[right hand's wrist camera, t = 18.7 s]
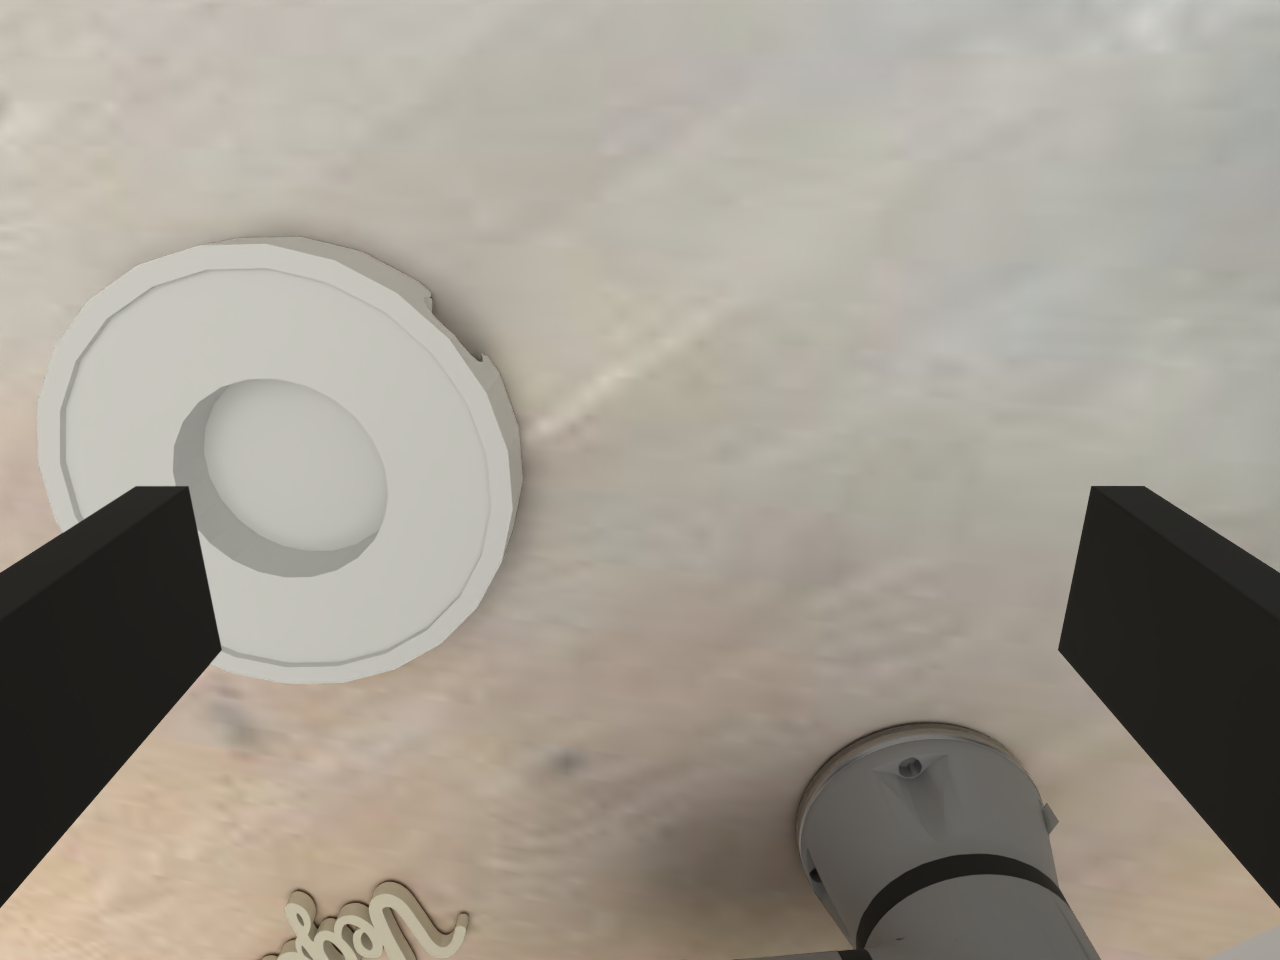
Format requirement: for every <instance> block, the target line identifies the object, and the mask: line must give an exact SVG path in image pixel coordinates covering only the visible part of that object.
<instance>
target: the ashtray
mask: <svg viewBox="0 0 1280 960" xmlns="http://www.w3.org/2000/svg"><path fill="white" fill-rule="evenodd" d="M481 354H482V353H481ZM482 356H483V358H482V362H479V361H477V360H476V359H475V358H474V357H473V356H472V355H470V353H469V352H468V351H467V350H466V349H465V348H464V347H463V345H462V344H461V343H460V342H459V341H458V339H457V338H456V336H455V335H454V334H453V333H452V332H450V331H449V330H448V329H447V328H446V327H445V326H444V325H443V324H442V323H441V322H440V321H439V320H438V319H436V317H435V316H434V315H433V314H432V297H431V292H430V291H429V290H428V289H427V288H425V287H424V286H423V285H422V284H421V283H420V282H419V281H417V280H415V279H413V278H411V277H409V276H407V275H406V274H404V273H402V272H400V271H398V270H396V269H394V268H392V267H390V266H389V265H387V264H385V263H383V262H381V261H379V260H377V259H375V258H373V257H372V256H370V255H368V254H366V253H364V252H362V251H358V250H354V249H350V248H346V247H342V246H338V245H333V244H329V243H325V242H321V241H317V240H313V239H309V238H305V237H301V236H297V237H256V238H236V239H230V240H225V241H220V242H214V243H209V244H203V245H198V246H195V247H192V248H189V249H186V250H183V251H180V252H176V253H173V254H170V255H167V256H164V257H161V258H158V259H155V260H151V261H148V262H145V263H142V264H139V265H137V266H135V267H134V268H133V269H131V270H130V271H128V272H127V273H126V274H124V275H123V276H121V277H120V278H119V279H117V280H116V281H114V282H113V283H112V284H110V285H109V286H107V287H106V288H105V289H103V290H102V291H100V292H99V293H98V294H96V295H95V296H93V297H92V298H91V299H89V300H88V301H87V302H86V304H85V305H84V307H83V308H82V309H81V311H80V312H79V314H78V315H77V316H76V318H75V319H74V321H73V322H72V323H71V325H70V326H69V328H68V329H67V330H66V332H65V333H64V335H63V336H62V337H61V339H60V340H59V342H58V343H57V344H56V346H55V347H54V349H53V353H52V356H51V359H50V363H49V366H48V369H47V373H46V376H45V379H44V382H43V386H42V389H41V392H40V396H39V399H38V402H37V437H38V464H39V468H40V471H41V474H42V478H43V481H44V485H45V488H46V491H47V495H48V498H49V502H50V505H51V509H52V512H53V515H54V519H55V520H56V522H57V524H58V526H59V527H60V529H61V531H62V532H65V531H67V530H68V529H70V528H71V527H73V526H74V525H76V524H77V523H79V522H81V521H82V520H84V519H85V518H87V517H88V516H90V515H92V514H93V513H95V512H96V511H98V510H99V509H101V508H102V507H104V506H106V505H107V504H109V503H110V502H112V501H113V500H115V499H117V498H118V497H120V496H121V495H123V494H124V493H126V492H127V491H129V490H131V489H132V488H134V487H135V486H189V491H190V496H191V501H192V506H193V510H194V515H195V520H196V525H197V530H198V535H199V540H200V545H201V550H202V555H203V560H204V564H205V569H206V574H207V579H208V584H209V589H210V594H211V599H212V604H213V609H214V614H215V619H216V623H217V628H218V633H219V638H220V643H221V648H222V650H221V652H220V653H219V654H218V655H217V656H216V657H215V659H214V660H213V661H212V662H211V663H210V664H211V665H214V666H216V667H218V668H221V669H223V670H225V671H228V672H230V673H234V674H239V675H244V676H249V677H254V678H259V679H264V680H269V681H274V682H279V683H284V684H315V683H345V682H348V681H352V680H356V679H360V678H364V677H368V676H372V675H376V674H379V673H383V672H387V671H391V670H395V669H397V668H398V667H400V666H402V665H404V664H406V663H407V662H409V661H411V660H413V659H415V658H416V657H418V656H420V655H422V654H424V653H425V652H427V651H429V650H431V649H433V648H434V647H436V646H438V645H440V644H441V643H442V642H443V641H444V640H445V639H446V638H447V637H448V636H449V635H450V634H451V633H452V632H453V631H454V630H455V629H456V628H457V627H458V626H459V625H460V624H461V623H462V622H463V621H464V620H465V619H466V618H467V617H468V616H469V615H470V614H471V613H472V612H473V611H474V610H475V609H476V608H477V607H478V605H479V603H480V601H481V599H482V598H483V596H484V594H485V592H486V590H487V588H488V587H489V585H490V583H491V581H492V579H493V577H494V575H495V574H496V572H497V570H498V568H499V566H500V564H501V563H502V560H503V557H504V554H505V551H506V548H507V546H508V543H509V540H510V537H511V534H512V531H513V527H514V522H515V518H516V513H517V508H518V503H519V498H520V493H521V489H522V484H523V472H522V459H521V446H520V433H519V426H518V423H517V420H516V417H515V414H514V412H513V409H512V406H511V403H510V400H509V398H508V395H507V392H506V389H505V387H504V384H503V381H502V378H501V375H500V373H499V372H498V370H497V369H496V367H495V366H494V364H493V363H492V361H491V360H490V358H489V357H488V356H486V355H483V354H482Z"/></svg>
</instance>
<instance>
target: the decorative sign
mask: <svg viewBox="0 0 1280 960" xmlns="http://www.w3.org/2000/svg"><path fill="white" fill-rule="evenodd" d="M390 908H393V909H394V910H395V911H396V912H397V913H398V914H399V915H400V916H401V917H402V919H403V920H404V921H405V923H406V924H407V926H408V927H409V929H410V930H411V932H412V933H413V935H414V936H415V937H416V939H417V940H418V941H419V943H420V944H421V946H422V947H423V948H424V949H425V950H426V952H428V953H429V954H430V955H432V956H434V957H436V958H442V959H443V958H448V957H450V956H451V955H453V954H454V953H455V952H456V951H457V950H458V949H459V947H460V946H461V944H462V942H463V940H464V937H465V934H466V929H467V925H468V920H469V917H468V915H466V914H460V915H459V916H458V920H457V924H456V927H455V929H454V930H453V932H452V933H450V934H448V935H443V934H441V933H440V932H439V931H437V929H436V928H435V927H434V926H433V924H432V923H431V921H430V920H429V918H428V917H427V915H426V914H425V912H424V911H423V909H422V908H421V906H420V905H419V904H418V902H417V901H416V899H415V898H414V896H413V895H412V894H411V893H410V892H409V891H408V890H407V889H406V888H405V887H403V886H402V885H400V884H397V883H394V882H385V883H382V884H380V885H379V886H377V888H376V889H375V891H374V893H373V896H372V899H371V901H370V904H369V908H368V907H367V906H365V905H363V904H360V903H351V904H347V905H345V906H344V907H343V908H342V909H341V910H340V913H339V915H338V918H337V920H336V919H333V918H328V919H325V920H323V921H322V922H321V924H320V926H319V928H318V929H317V928H316V927H315V925H314V923H313V921H314V919H315V916H316V907H315V904H314V902H313V900H312V899H311V898H310V897H309V896H308V895H307V894H305V893H303V892H300V891H296V892H293V893H292V895H291V897H290V899H289V901H288V903H287V905H286V907H285V915H286V918H287V920H288V921H289V923H290V925H291V927H292V929H293V930H294V932H295V934H296V935H297V938H296V940H291V941H288V942H287V943H285V944H284V946H283V948H282V950H281V952H280V954H279V957H277V956H274V955H269V956H266V957H264V958H262V959H261V960H361V959H362V956H363V957H366V958H377V957H379V956H380V955H381V954H382V951H383V948H385V951H386V953H387V955H388V957H389V959H390V960H416V958H415V955H414V953H413V952H412V950H411V948H410V946H409V945H408V943H407V941H406V940H405V938H404V936H403V934H402V933H401V931H400V929H399V927H398V925H397V923H396V921H395V919H394V916H393V914H392V912H391V910H390ZM346 924H352V925H355V926H357V927H356V929H355V932H354V933H353V932H352V931H351V930H350V929H349V928H348V927H347V925H346ZM331 942H332V943H333V944H335V945H336V946H337V947H338V948H339V949H340V951H341V952H342V953H343V955H342V954H340V953H339V952H338V951H337V950H336V949H335V948H334V946H333V945H332V943H331Z"/></svg>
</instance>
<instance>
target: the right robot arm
mask: <svg viewBox="0 0 1280 960" xmlns="http://www.w3.org/2000/svg"><path fill="white" fill-rule="evenodd" d="M221 650H222V648H221V643H220V638H219V633H218V628H217V623H216V619H215V614H214V609H213V604H212V599H211V594H210V589H209V584H208V579H207V574H206V569H205V564H204V560H203V555H202V550H201V545H200V540H199V535H198V530H197V525H196V520H195V515H194V510H193V506H192V501H191V496H190V491H189V486H135V487H134V488H132V489H131V490H129V491H127V492H126V493H124V494H123V495H121V496H120V497H118V498H117V499H115V500H113V501H112V502H110V503H109V504H107V505H106V506H104V507H102V508H101V509H99V510H98V511H96V512H95V513H93V514H92V515H90V516H88V517H87V518H85V519H84V520H82V521H81V522H79V523H77V524H76V525H74V526H73V527H71V528H70V529H68V530H67V531H65V532H63V533H62V534H60V535H59V536H57V537H56V538H54V539H53V540H51V541H49V542H48V543H46V544H45V545H43V546H42V547H40V548H38V549H37V550H35V551H34V552H32V553H31V554H29V555H28V556H26V557H24V558H23V559H21V560H20V561H18V562H17V563H15V564H13V565H12V566H10V567H9V568H7V569H6V570H4V571H3V572H1V573H0V908H1V907H2V905H3V904H4V903H5V902H6V901H7V900H8V898H9V897H10V896H11V895H12V894H13V893H14V891H15V890H16V889H17V888H18V887H19V886H20V884H21V883H22V882H23V881H24V880H25V879H26V877H27V876H28V875H29V874H30V873H31V872H32V871H33V869H34V868H35V867H36V866H37V865H38V864H39V862H40V861H41V860H42V859H43V858H44V857H45V855H46V854H47V853H48V852H49V851H50V850H51V848H52V847H53V846H54V845H55V844H56V843H57V841H58V840H59V839H60V838H61V837H62V836H63V834H64V833H65V832H66V831H67V830H68V829H69V827H70V826H71V825H72V824H73V823H74V822H75V820H76V819H77V818H78V817H79V816H80V815H81V813H82V812H83V811H84V810H85V809H86V808H87V806H88V805H89V804H90V803H91V802H92V801H93V799H94V798H95V797H96V796H97V795H98V794H99V793H100V791H101V790H102V789H103V788H104V787H105V786H106V784H107V783H108V782H109V781H110V780H111V779H112V777H113V776H114V775H115V774H116V773H117V772H118V770H119V769H120V768H121V767H122V766H123V765H124V763H125V762H126V761H127V760H128V759H129V758H130V756H131V755H132V754H133V753H134V752H135V751H136V749H137V748H138V747H139V746H140V745H141V744H142V742H143V741H144V740H145V739H146V738H147V737H148V735H149V734H150V733H151V732H152V731H153V730H154V728H155V727H156V726H157V725H158V724H159V723H160V721H161V720H162V719H163V718H164V717H165V716H166V715H167V713H168V712H169V711H170V710H171V709H172V708H173V706H174V705H175V704H176V703H177V702H178V701H179V699H180V698H181V697H182V696H183V695H184V694H185V692H186V691H187V690H188V689H189V688H190V687H191V685H192V684H193V683H194V682H195V681H196V680H197V678H198V677H199V676H200V675H201V674H202V673H203V671H204V670H205V669H206V668H207V667H208V666H209V664H210V663H211V662H212V661H213V660H214V659H215V657H216V656H217V655H218V654H219V653H220V652H221ZM1058 650H1059V652H1060V653H1061V654H1062V655H1063V656H1064V657H1065V659H1066V660H1067V661H1068V662H1069V663H1070V664H1071V666H1072V667H1073V668H1074V669H1075V670H1076V671H1077V673H1078V674H1079V675H1080V676H1081V677H1082V678H1083V680H1084V681H1085V682H1086V683H1087V684H1088V685H1089V687H1090V688H1091V689H1092V690H1093V691H1094V692H1095V694H1096V695H1097V696H1098V697H1099V698H1100V699H1101V701H1102V702H1103V703H1104V704H1105V705H1106V706H1107V708H1108V709H1109V710H1110V711H1111V712H1112V713H1113V715H1114V716H1115V717H1116V718H1117V719H1118V720H1119V721H1120V723H1121V724H1122V725H1123V726H1124V727H1125V728H1126V730H1127V731H1128V732H1129V733H1130V734H1131V735H1132V737H1133V738H1134V739H1135V740H1136V741H1137V742H1138V744H1139V745H1140V746H1141V747H1142V748H1143V749H1144V751H1145V752H1146V753H1147V754H1148V755H1149V756H1150V758H1151V759H1152V760H1153V761H1154V762H1155V763H1156V765H1157V766H1158V767H1159V768H1160V769H1161V770H1162V772H1163V773H1164V774H1165V775H1166V776H1167V777H1168V779H1169V780H1170V781H1171V782H1172V783H1173V784H1174V786H1175V787H1176V788H1177V789H1178V790H1179V791H1180V793H1181V794H1182V795H1183V796H1184V797H1185V798H1186V799H1187V801H1188V802H1189V803H1190V804H1191V805H1192V806H1193V808H1194V809H1195V810H1196V811H1197V812H1198V813H1199V815H1200V816H1201V817H1202V818H1203V819H1204V820H1205V822H1206V823H1207V824H1208V825H1209V826H1210V827H1211V829H1212V830H1213V831H1214V832H1215V833H1216V834H1217V836H1218V837H1219V838H1220V839H1221V840H1222V841H1223V843H1224V844H1225V845H1226V846H1227V847H1228V848H1229V850H1230V851H1231V852H1232V853H1233V854H1234V855H1235V857H1236V858H1237V859H1238V860H1239V861H1240V862H1241V864H1242V865H1243V866H1244V867H1245V868H1246V869H1247V871H1248V872H1249V873H1250V874H1251V875H1252V876H1253V877H1254V879H1255V880H1256V881H1257V882H1258V883H1259V884H1260V886H1261V887H1262V888H1263V889H1264V890H1265V891H1266V893H1267V894H1268V895H1269V896H1270V897H1271V898H1272V900H1273V901H1274V902H1275V903H1276V904H1277V905H1278V907H1279V908H1280V573H1279V572H1277V571H1276V570H1274V569H1273V568H1271V567H1270V566H1268V565H1267V564H1265V563H1263V562H1262V561H1260V560H1259V559H1257V558H1256V557H1254V556H1252V555H1251V554H1249V553H1248V552H1246V551H1245V550H1243V549H1242V548H1240V547H1238V546H1237V545H1235V544H1234V543H1232V542H1231V541H1229V540H1227V539H1226V538H1224V537H1223V536H1221V535H1220V534H1218V533H1217V532H1215V531H1213V530H1212V529H1210V528H1209V527H1207V526H1206V525H1204V524H1203V523H1201V522H1199V521H1198V520H1196V519H1195V518H1193V517H1192V516H1190V515H1188V514H1187V513H1185V512H1184V511H1182V510H1181V509H1179V508H1178V507H1176V506H1174V505H1173V504H1171V503H1170V502H1168V501H1167V500H1165V499H1163V498H1162V497H1160V496H1159V495H1157V494H1156V493H1154V492H1153V491H1151V490H1149V489H1148V488H1146V487H1145V486H1091V491H1090V496H1089V501H1088V506H1087V510H1086V515H1085V520H1084V525H1083V530H1082V535H1081V540H1080V545H1079V550H1078V555H1077V560H1076V564H1075V569H1074V574H1073V579H1072V584H1071V589H1070V594H1069V599H1068V604H1067V609H1066V614H1065V619H1064V623H1063V628H1062V633H1061V638H1060V643H1059V648H1058ZM1058 822H1059V821H1058V820H1057V818H1056V816H1055V815H1054V813H1053V812H1052V810H1051V809H1050V807H1049V805H1048V804H1047V803H1046V805H1045V806H1044V805H1043V803H1042V800H1041V797H1040V794H1039V792H1038V790H1037V788H1036V786H1035V785H1034V783H1033V782H1032V780H1031V778H1030V777H1029V775H1028V774H1027V772H1026V771H1025V769H1024V768H1023V766H1022V765H1021V763H1020V762H1019V761H1018V759H1017V758H1016V757H1015V756H1014V755H1013V754H1012V753H1011V752H1010V751H1009V750H1008V749H1007V748H1005V747H1004V746H1002V745H1001V744H1000V743H998V742H997V741H995V740H993V739H991V738H990V737H988V736H986V735H983V734H981V733H979V732H976V731H973V730H970V729H967V728H963V727H959V726H953V725H947V724H933V723H929V724H912V725H905V726H899V727H894V728H890V729H887V730H883V731H880V732H877V733H875V734H872V735H869V736H867V737H865V738H863V739H860V740H859V741H857V742H855V743H853V744H851V745H850V746H848V747H847V748H845V749H843V750H842V751H840V752H839V753H838V754H837V755H835V756H834V757H833V758H832V759H830V760H829V761H828V762H827V763H826V764H825V765H824V766H823V767H822V768H821V769H820V771H819V772H818V773H817V774H816V775H815V777H814V778H813V779H812V781H811V782H810V784H809V785H808V787H807V789H806V791H805V792H804V795H803V797H802V799H801V802H800V805H799V808H798V812H797V818H796V840H797V845H798V849H799V854H800V858H801V862H802V866H803V869H804V872H805V874H806V876H807V878H808V880H809V882H810V884H811V887H812V889H813V890H814V892H815V894H816V895H817V897H818V898H819V899H820V901H821V902H822V904H823V905H824V907H825V908H826V910H827V911H828V912H829V914H830V915H831V917H832V918H833V920H834V921H835V922H836V924H837V925H838V927H839V928H840V930H841V931H842V932H843V934H844V935H845V937H846V938H847V940H848V941H849V943H850V944H851V945H852V947H853V948H854V950H845V951H828V952H817V953H806V954H795V955H785V956H774V957H763V958H749V959H735V960H1101V959H1100V957H1099V955H1098V954H1097V952H1096V950H1095V949H1094V947H1093V945H1092V944H1091V942H1090V940H1089V939H1088V937H1087V935H1086V933H1085V932H1084V930H1083V928H1082V927H1081V925H1080V923H1079V922H1078V920H1077V918H1076V917H1075V915H1074V913H1073V911H1072V910H1071V908H1070V906H1069V905H1068V903H1067V901H1066V899H1065V898H1064V896H1063V894H1062V892H1061V891H1060V889H1059V886H1058V880H1057V875H1056V870H1055V865H1054V860H1053V855H1052V850H1051V845H1050V841H1049V834H1050V832H1051V831H1052V830H1053V828H1054V827H1055V826H1056V825H1057V823H1058Z"/></svg>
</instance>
